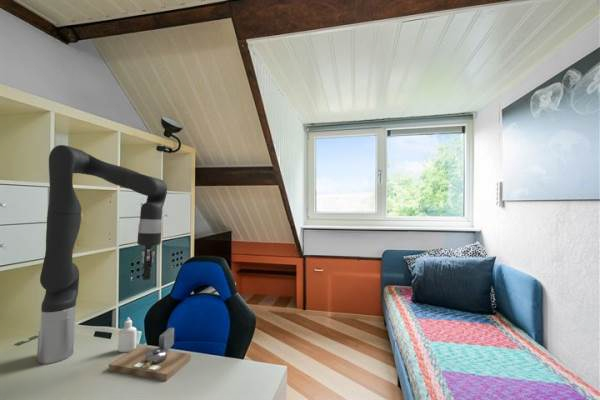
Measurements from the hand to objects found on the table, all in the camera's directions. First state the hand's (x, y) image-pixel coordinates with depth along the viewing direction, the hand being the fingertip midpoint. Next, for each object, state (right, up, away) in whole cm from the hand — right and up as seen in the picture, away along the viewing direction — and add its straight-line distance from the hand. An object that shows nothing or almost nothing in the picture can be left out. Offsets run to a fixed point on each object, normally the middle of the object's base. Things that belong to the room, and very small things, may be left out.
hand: (146, 279), depth 97 cm
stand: (+5, -27, -6) cm, 29 cm away
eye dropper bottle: (-9, -28, +3) cm, 29 cm away
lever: (+7, -25, -4) cm, 27 cm away
